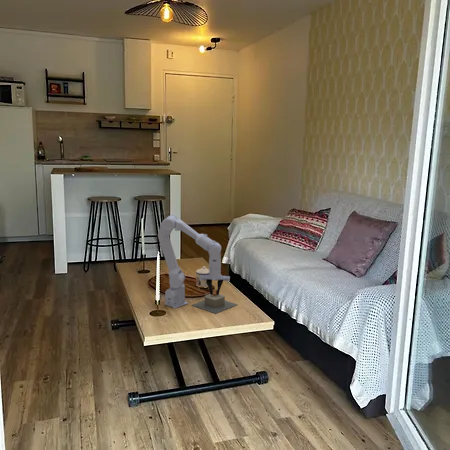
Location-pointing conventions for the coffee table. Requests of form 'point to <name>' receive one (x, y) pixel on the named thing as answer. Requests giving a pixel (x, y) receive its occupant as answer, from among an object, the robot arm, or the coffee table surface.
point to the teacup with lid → (199, 272)
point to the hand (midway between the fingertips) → (214, 294)
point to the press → (214, 304)
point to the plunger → (214, 292)
